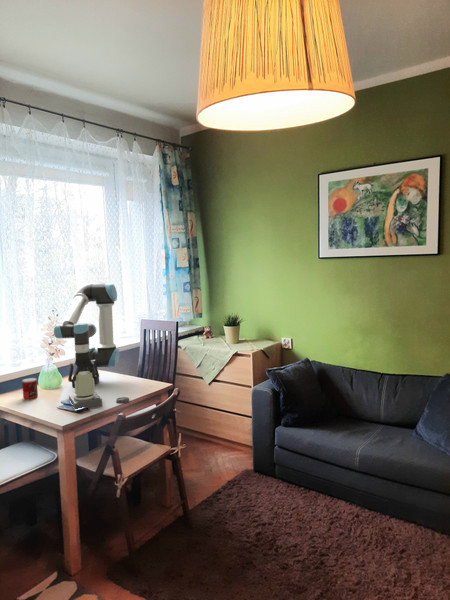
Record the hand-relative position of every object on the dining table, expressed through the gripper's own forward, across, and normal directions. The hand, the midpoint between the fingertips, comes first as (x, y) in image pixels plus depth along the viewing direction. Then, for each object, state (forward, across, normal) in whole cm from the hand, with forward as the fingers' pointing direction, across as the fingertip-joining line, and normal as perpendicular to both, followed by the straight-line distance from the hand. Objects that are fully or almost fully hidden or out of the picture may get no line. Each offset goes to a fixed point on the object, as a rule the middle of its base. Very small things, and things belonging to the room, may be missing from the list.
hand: (84, 391), depth 236 cm
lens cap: (+7, +19, -7) cm, 21 cm away
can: (+1, 0, 0) cm, 1 cm away
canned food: (+7, -25, +30) cm, 40 cm away
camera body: (+7, 0, 0) cm, 7 cm away
